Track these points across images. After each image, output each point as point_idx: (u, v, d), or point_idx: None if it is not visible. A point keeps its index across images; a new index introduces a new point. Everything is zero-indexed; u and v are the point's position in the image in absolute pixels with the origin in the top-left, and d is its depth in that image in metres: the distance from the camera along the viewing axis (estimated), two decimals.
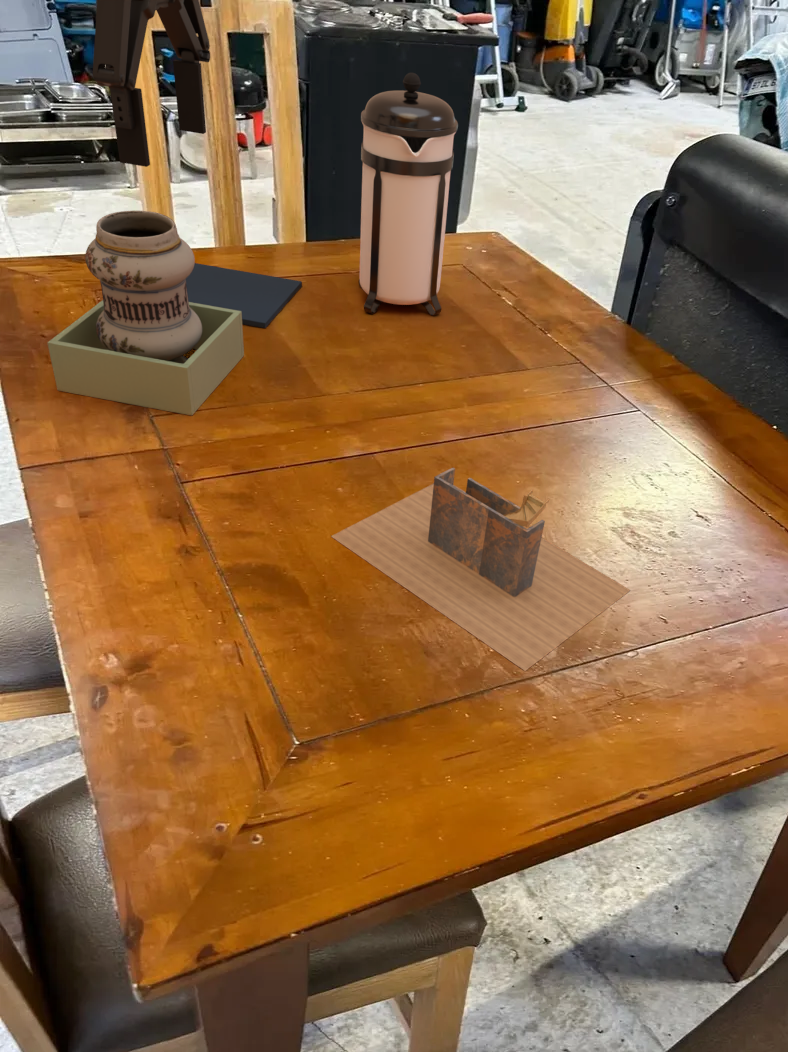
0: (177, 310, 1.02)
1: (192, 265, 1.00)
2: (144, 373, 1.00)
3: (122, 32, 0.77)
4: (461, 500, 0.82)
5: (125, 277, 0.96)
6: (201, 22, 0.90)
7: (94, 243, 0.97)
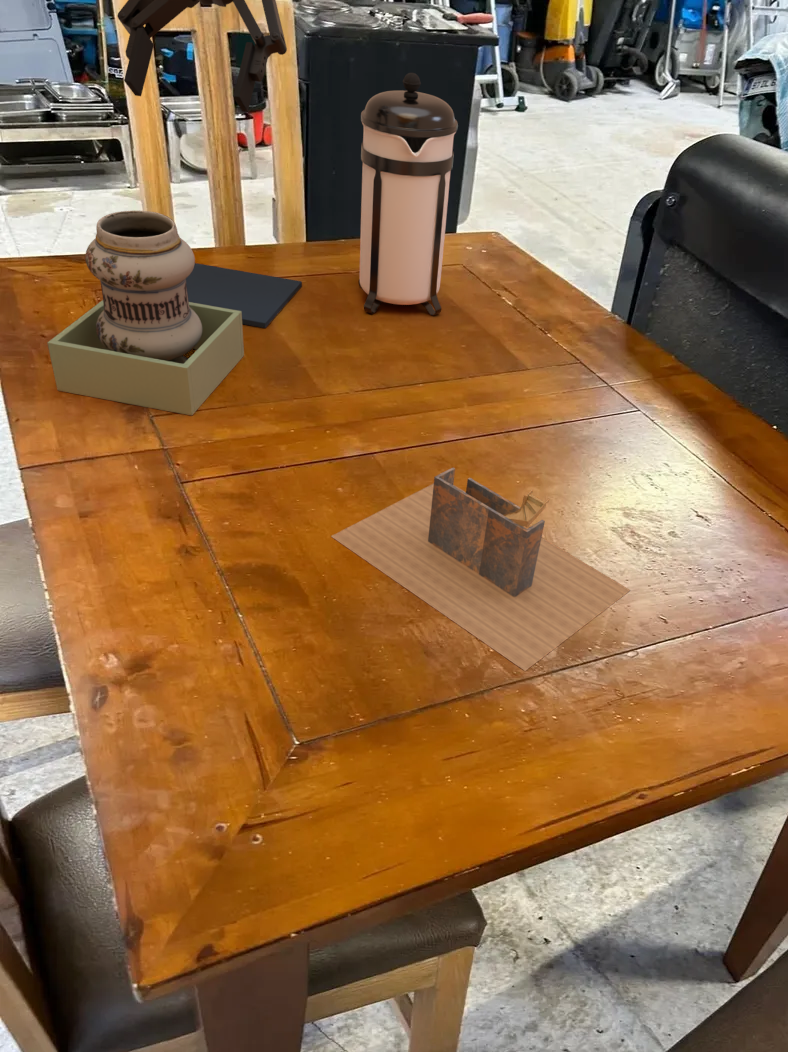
0: (177, 310, 1.02)
1: (192, 265, 1.00)
2: (144, 373, 1.00)
3: (279, 21, 1.03)
4: (461, 500, 0.82)
5: (125, 277, 0.96)
6: None
7: (94, 243, 0.97)
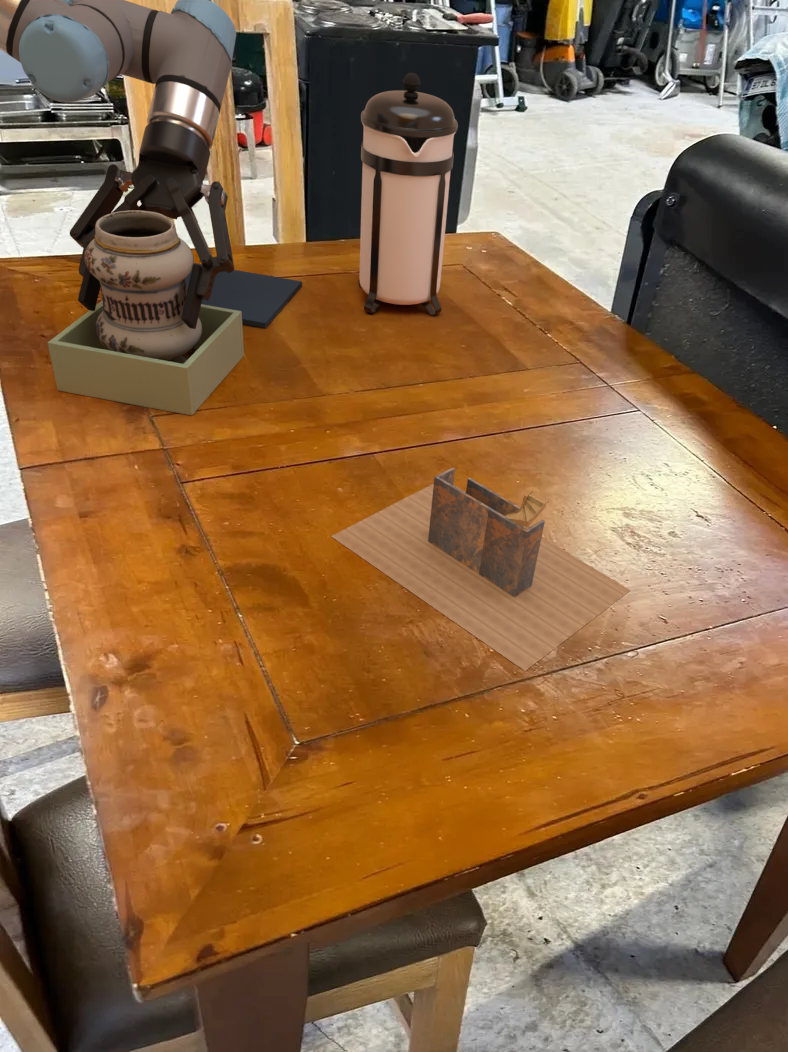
0: (176, 310, 1.02)
1: (191, 264, 1.00)
2: (144, 373, 1.00)
3: (228, 238, 1.03)
4: (461, 500, 0.82)
5: (124, 277, 0.96)
6: None
7: (93, 243, 0.97)
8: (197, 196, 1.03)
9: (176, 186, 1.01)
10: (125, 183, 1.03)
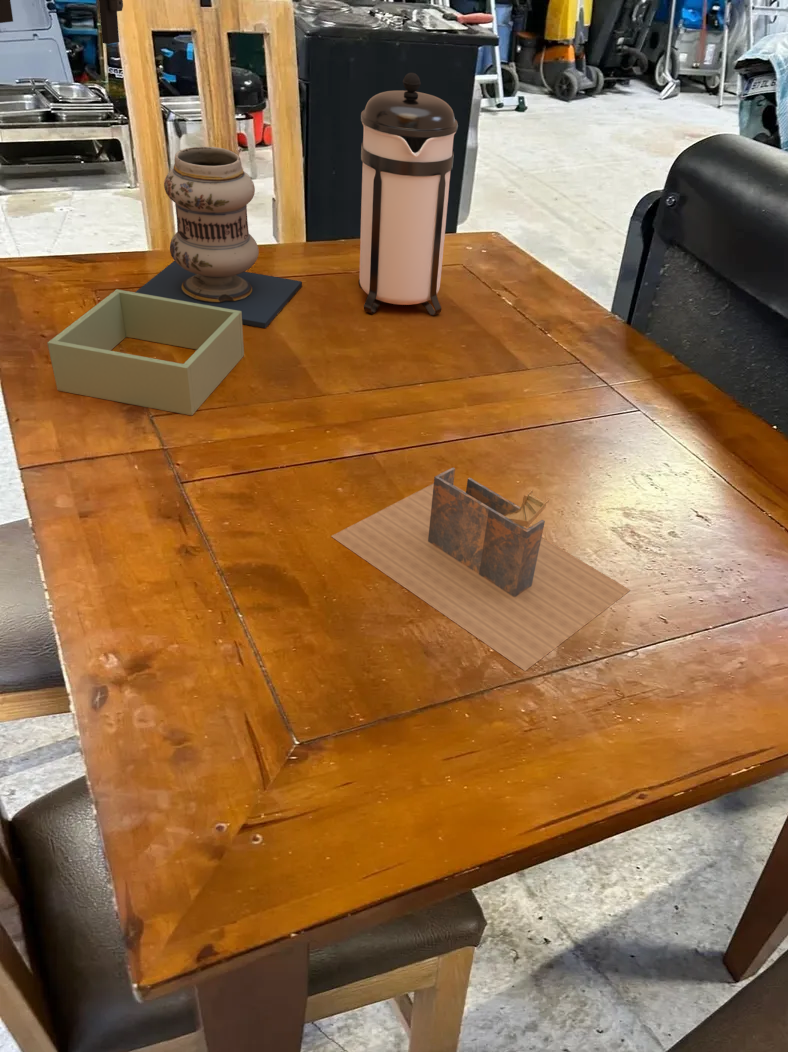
0: (239, 231, 1.20)
1: (253, 192, 1.18)
2: (144, 373, 1.00)
3: None
4: (461, 500, 0.82)
5: (199, 199, 1.14)
6: None
7: (172, 172, 1.16)
8: None
9: None
10: None
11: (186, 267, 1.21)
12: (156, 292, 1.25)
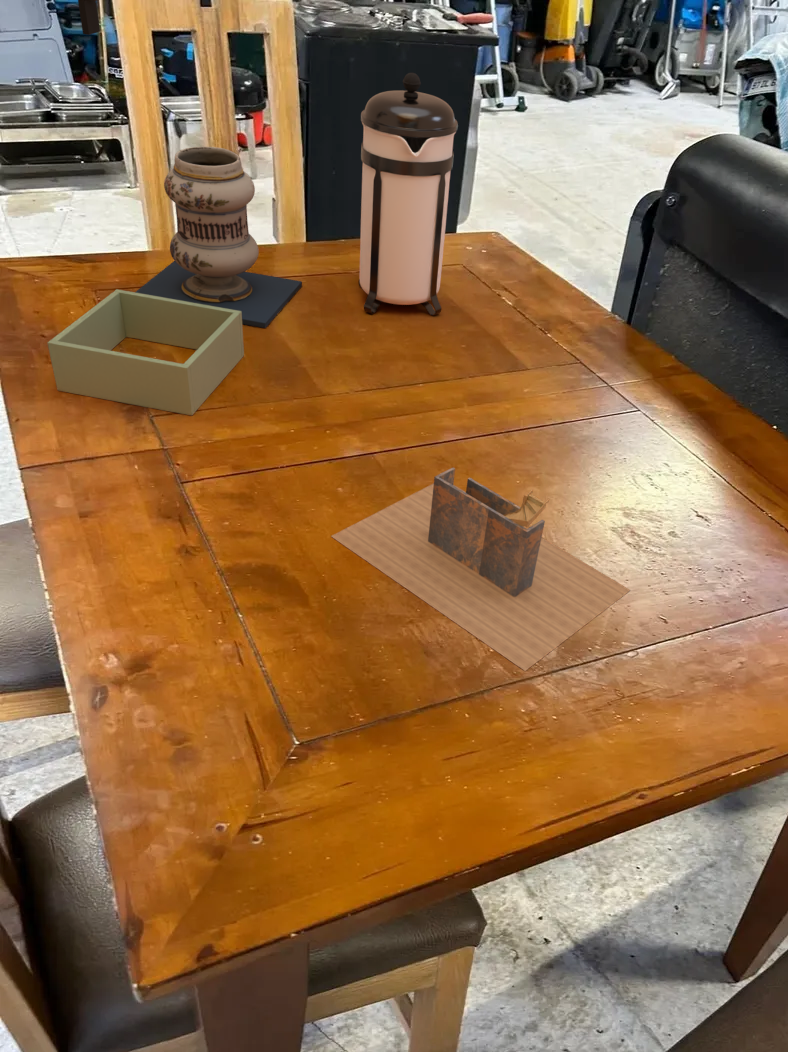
0: (239, 231, 1.20)
1: (253, 192, 1.18)
2: (144, 373, 1.00)
3: None
4: (461, 500, 0.82)
5: (199, 200, 1.14)
6: None
7: (172, 172, 1.16)
8: None
9: None
10: None
11: (186, 267, 1.21)
12: (156, 292, 1.25)
